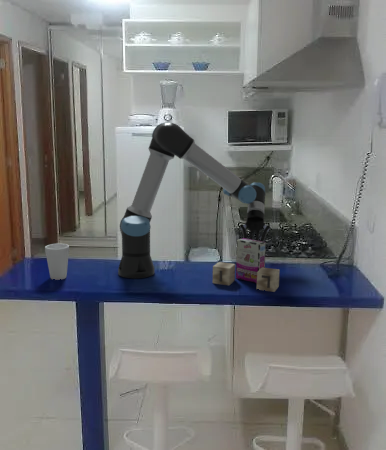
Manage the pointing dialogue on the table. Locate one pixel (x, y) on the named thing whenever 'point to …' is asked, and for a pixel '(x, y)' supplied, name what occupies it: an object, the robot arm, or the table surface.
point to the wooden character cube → (223, 273)
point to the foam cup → (57, 260)
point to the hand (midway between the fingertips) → (252, 260)
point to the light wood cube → (268, 279)
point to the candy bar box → (249, 259)
